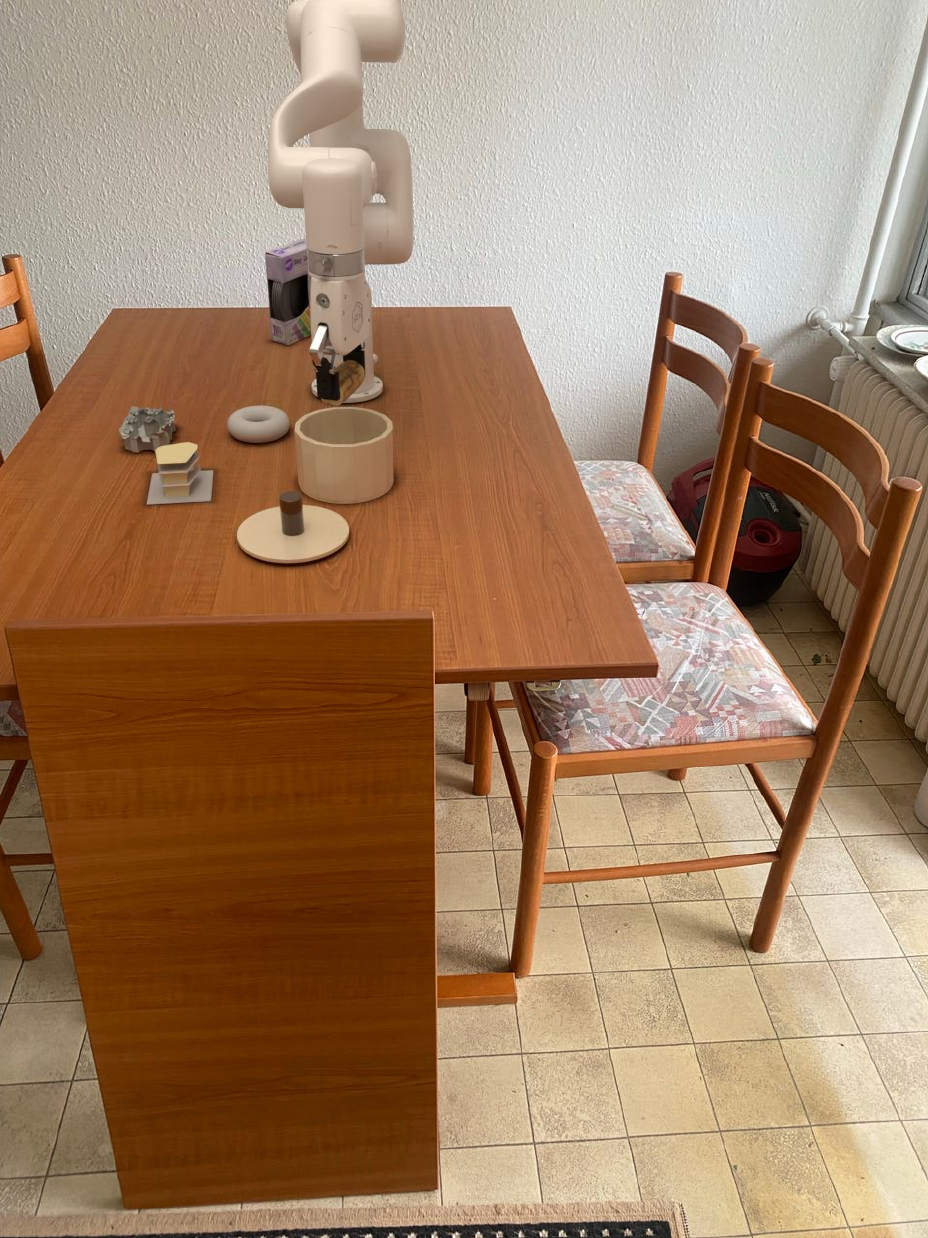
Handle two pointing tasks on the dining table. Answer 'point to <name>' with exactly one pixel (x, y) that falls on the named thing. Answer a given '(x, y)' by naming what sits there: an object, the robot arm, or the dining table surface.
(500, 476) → the dining table surface
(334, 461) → the crock
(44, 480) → the dining table surface
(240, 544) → the lid
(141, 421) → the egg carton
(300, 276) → the cake pan box
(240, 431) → the donut
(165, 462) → the stacked layers on plate
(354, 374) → the tan cylinder with hole
